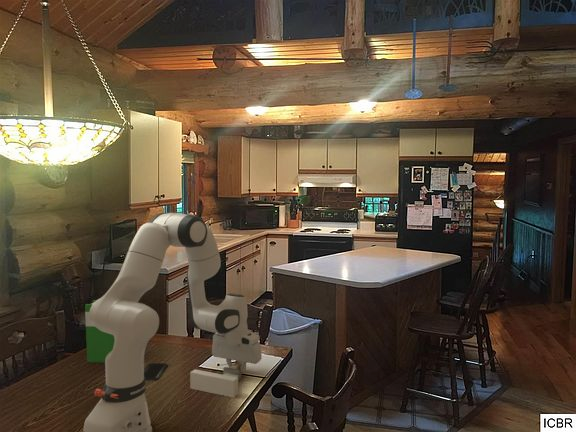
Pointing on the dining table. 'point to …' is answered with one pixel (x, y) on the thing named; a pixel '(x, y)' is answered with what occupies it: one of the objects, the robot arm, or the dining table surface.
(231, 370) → the pusher
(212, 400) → the dining table surface
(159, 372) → the phone
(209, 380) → the white rectangular block
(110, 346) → the hardback book
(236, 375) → the tile
